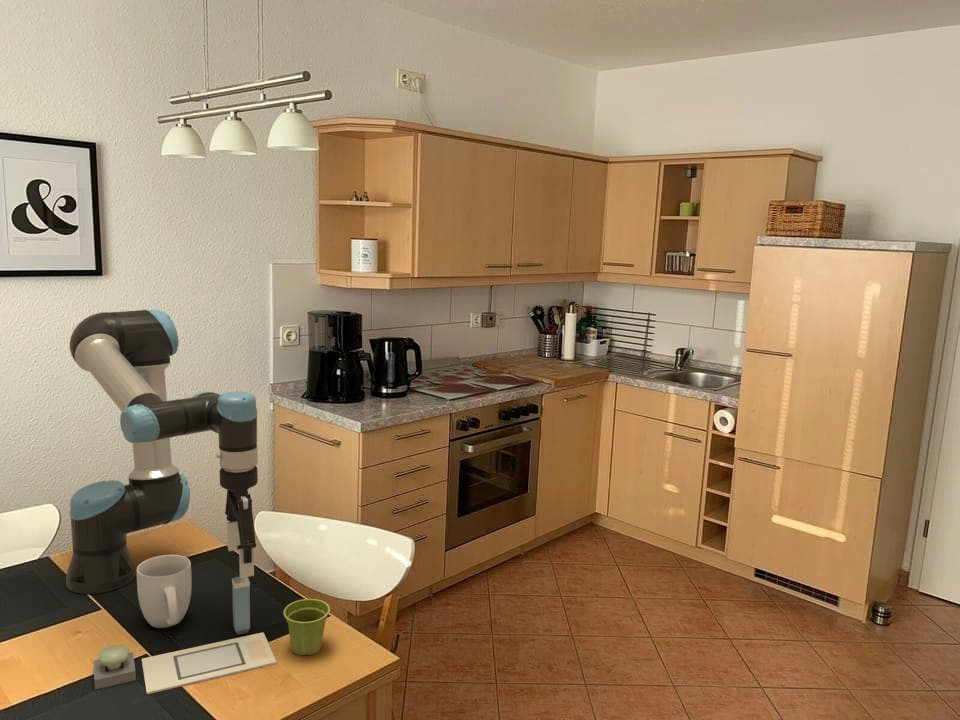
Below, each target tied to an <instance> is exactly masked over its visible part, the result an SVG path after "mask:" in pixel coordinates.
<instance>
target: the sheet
mask: <svg viewBox="0 0 960 720" xmlns="http://www.w3.org/2000/svg"><path fill="white" fill-rule="evenodd" d="M277 664H278V663H277V660H276V657H275V655H274V653H273V651H272V649H271V646H270V643H269V641H268V639H267V637H266V635H265V633H264V631H263V632H259V633H253V634H250V635H245V636H240V637H239V636H238V637H235V638H231V639H227V640H221V641H217V642H212V643H208V644H204V645H203V644H202V645H198V646H194V647H190V648H186V649H181V650H176V651H172V652H166V653H162V654H156V655H153V656H148V657H144V658H143V657H142V658H141V665H142V672H143V679H144V683H145V684H144V685H145V690H146V695H151V694H154V693H155V694H156V693H159V692H163V691H167V690H172V689H175V688H176V689H177V688H180V687H184V686H189V685H192V684H193V685H194V684H196V683H197V684H198V683H201V682H206V681H209V680H214V679H218V678H221V677H226V676H230V675H235V674H239V673H243V672H247V671H251V670H254V669H255V670H257V669H259V668H263V667H268V666H271V665H277Z"/></svg>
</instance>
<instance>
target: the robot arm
mask: <svg viewBox="0 0 960 720" xmlns="http://www.w3.org/2000/svg"><path fill="white" fill-rule="evenodd" d="M179 343H180V342H179V336H178V331H177V328H176V326H175V324H174V321H173V319H171V317H170V315H169V314H168V313H166V312H165V311H162V310H159V309H141V310H139V309H138V310H125V311H113V312H111V311H110V312H108V311H106V312H105V311H104V312H98V313H94V314H92V315H89V316H87V317H86V318H84V319H83V320H82V321H80V322H79V323H78V324H77V325H76V327H75V328H74V329H73V331H72V333H71V336H70V339H69V352H70V355H71V357H72V359H73V361H74V362H75V363H76V364H77V366H78V367H79V368H80V369H82V370H84V371H85V372H89V373H90V374H91V376H93V378H94V379H95V381H97V383H98V384H99V385H100V386H101V388H102V389H103V390H104V392H105V393H106V394H107V396H109V398H110V400H112V401H113V403H114V404H115V406H116V407H117V408H118V409H119V410H120V411H121V413H120V417H119V419H120V420H119V421H120V423H119V424H120V428H121V432H122V434H123V438H124V439H125V440H126V441H127V442H129V443H132V452H133V453H132V454H133V465H134V468H133V470H131V472H130V473H129V474H128V484H125V485H124V483H123V482H122V481H119V480H108V481H106V480H103V481H101V480H100V481H98V482H93V483H91V484H88V485H85V486H83V487H81V488H80V489H78V490H76V492H75V493H73V495H72V496H71V498H70V504H69V505H70V509H69V517H70V527H71V543H72V544H71V545H72V554H71V559H70V562H69V565H68V569H67V572H66V576H65V585H66V588H67V589H68V590H69V591H71V592H73V593H76V594H83V595H94V594H95V595H96V594H103V593H107V592H111V591H115V590H118V589H121V588H123V587H125V586H126V585H128V584H130V583H131V582H133V580H134V579H135V578H136V577H137V566H136V563H135V561H134V558H133V556H132V553H131V552H130V550H129V547H128V545H127V544H128V542H127V535H128V534H130V533H134V532H139V531H142V530H145V529H149V528H153V527H158V526H161V525H169V524H170V523H172V522H176V521H177V520H180V519H182V518H183V517H184V516H185V515H186V513H187V511H188V510H189V507H190V503H191V502H190V501H191V500H190V499H191V489H190V485H188V484H189V482H188V479H187V478H186V476H185V475H184V474H181V473H180V472H179V468H178V467H177V466H175V465H174V464H173V462H172V449H171V439H170V438H175V437H176V438H177V437H179V436H180V437H181V436H187V435H192V434H200V433H204V432H209V431H210V432H211V431H212V432H214V433H216V434H218V449H219V452H218V453H216V455H215V456H216V458H217V459H219V467H220V469H219V486H220V487H221V488H223V489H224V490H226V502H225V511H224V514H225V516H226V521H227V522H226V524H227V550H228V552H233V551H238V555H239V556H238V558H239V559H238V560H239V562H238V563H239V577H240V578H243V577H248V578H249V577H254V576H255V560H254V559H255V556H254V554H255V553H254V551H255V549H254V548H256V547H257V542H256V534H255V524H254V523H255V522H254V516H253V499H252V497H251V494H250V493H249V490H250V489H251V488H253V487H255V486H256V485H257V484H258V480H259V479H258V477H259V476H258V475H259V473H258V466H257V465H258V461H259V459H258V456H259V455H258V409H257V399H256V396H255V395H254V394H253V393H251V392H249V391H248V392H247V391H238V390H237V391H226V392H223V393H221V394H220V393H218V392H214V391H200V392H196V393H195V394H194V395H193V396H191V397H186V398H180V399H172V400H168V399H167V387H166V386H167V385H166V374H165V371H166V369H167V368H168V367H169V366H170V365H171V356H174V355H176V354H177V352H178V350H179Z"/></svg>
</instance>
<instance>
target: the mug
mask: <svg viewBox="0 0 960 720" xmlns="http://www.w3.org/2000/svg"><path fill="white" fill-rule="evenodd" d="M192 584H193V583H192V563H191V560H190V559H189V558H188V557H186V556H184V555H180V554H163V555H162V554H161V555H158V556H154V557H151V558H148V559H144V561H141V563H139V564H138V566H136V587H137V588H136V589H137V597H138V598H137V600H138V603H139V607H140V610H141V613H142V615H143V617H144V619H145V620H146V622H147V623H148V624H149V626H151V627H153V628H157V629H165V628H170V627H171V628H172V627H173V626H176V625H178V624H179V623H180V622H182V620H183V619H184V617H185V616H186V613H187V611H188V609H189V606H190V601H191V596H192V588H193V587H192Z"/></svg>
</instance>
